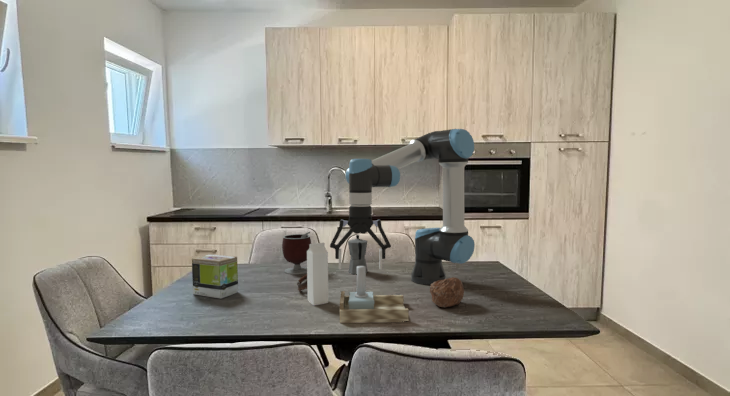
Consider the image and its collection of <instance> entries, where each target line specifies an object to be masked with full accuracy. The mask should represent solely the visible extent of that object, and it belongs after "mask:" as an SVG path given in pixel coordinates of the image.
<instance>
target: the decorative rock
mask: <svg viewBox="0 0 730 396" xmlns="http://www.w3.org/2000/svg"><path fill="white" fill-rule="evenodd" d="M464 288H465V287H464V284H463V282H462V280H461V279H460V278H458V277H454V276H452V277H448V278H446V279H444V280H439V281H436V282H434V283H432V284H431V285H430V286H429V293H430V295H431V301H432V303H434V304H435V305H436V306H437V307H441V308H448V307H454V306H455V305H456V306H457V305H460V303H461V302H462V300H464V295H465V289H464Z"/></svg>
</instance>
